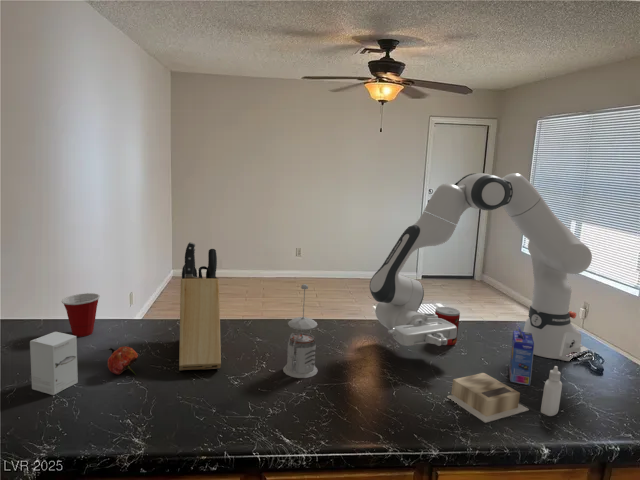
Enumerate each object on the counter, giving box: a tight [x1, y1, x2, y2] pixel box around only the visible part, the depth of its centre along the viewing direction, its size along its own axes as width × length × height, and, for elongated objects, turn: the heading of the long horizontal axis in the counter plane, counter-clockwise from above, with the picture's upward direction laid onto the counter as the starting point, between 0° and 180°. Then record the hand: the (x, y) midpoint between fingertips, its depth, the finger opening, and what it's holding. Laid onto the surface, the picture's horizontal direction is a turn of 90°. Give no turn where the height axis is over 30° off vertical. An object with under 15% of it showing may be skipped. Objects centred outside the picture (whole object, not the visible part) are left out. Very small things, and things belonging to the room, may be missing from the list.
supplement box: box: [29, 331, 79, 396], centre depth 118 cm, size 7×7×13 cm
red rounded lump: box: [107, 346, 139, 376], centre depth 128 cm, size 7×7×10 cm
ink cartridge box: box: [508, 326, 534, 386], centre depth 138 cm, size 10×6×14 cm, turn 161°
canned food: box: [434, 306, 461, 346], centre depth 163 cm, size 8×8×11 cm
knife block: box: [178, 241, 222, 371], centre depth 143 cm, size 11×35×31 cm, turn 15°
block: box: [451, 372, 521, 416], centre depth 123 cm, size 11×4×12 cm
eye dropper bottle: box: [540, 365, 563, 417], centre depth 120 cm, size 4×6×12 cm
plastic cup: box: [61, 292, 101, 338], centre depth 152 cm, size 11×11×12 cm
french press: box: [282, 283, 318, 379], centre depth 133 cm, size 10×12×25 cm
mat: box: [447, 394, 530, 424], centre depth 123 cm, size 15×13×1 cm
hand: (443, 342), depth 136 cm, fingers closed
